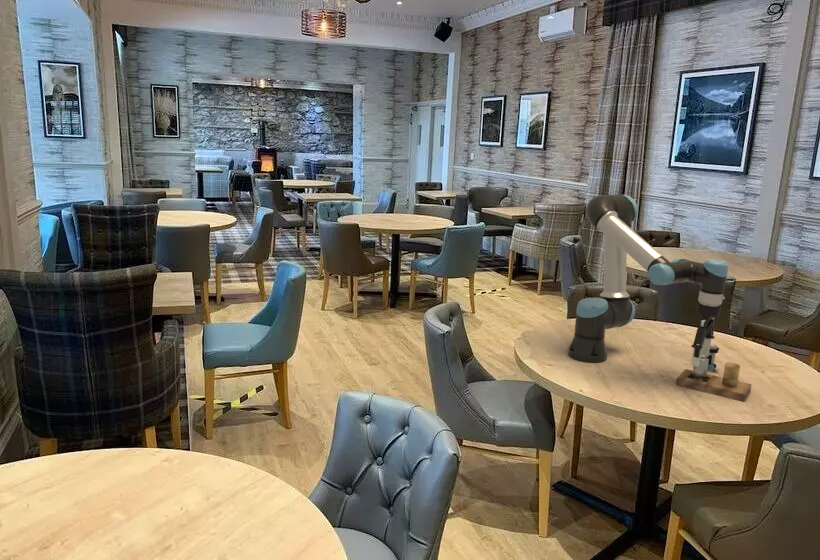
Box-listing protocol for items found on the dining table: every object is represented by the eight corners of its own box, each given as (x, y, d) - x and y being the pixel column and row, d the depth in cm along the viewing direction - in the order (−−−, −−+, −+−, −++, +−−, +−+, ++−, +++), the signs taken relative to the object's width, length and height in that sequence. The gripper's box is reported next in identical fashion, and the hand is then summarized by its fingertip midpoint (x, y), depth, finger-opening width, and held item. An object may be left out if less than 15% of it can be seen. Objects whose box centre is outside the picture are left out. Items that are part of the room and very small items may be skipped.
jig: (676, 384, 216) (679, 358, 214) (684, 375, 226) (688, 350, 223) (744, 401, 203) (748, 373, 201) (750, 391, 212) (754, 364, 210)
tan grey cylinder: (689, 384, 217) (693, 358, 215) (692, 380, 221) (696, 355, 218) (703, 387, 214) (707, 361, 212) (706, 384, 218) (710, 358, 216)
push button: (722, 372, 230) (725, 347, 228) (712, 373, 228) (716, 348, 226) (707, 366, 236) (710, 342, 234) (697, 367, 234) (701, 343, 232)
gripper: (713, 313, 199) (702, 372, 204) (728, 299, 218) (718, 354, 223) (689, 308, 203) (679, 366, 208) (706, 295, 223) (697, 348, 228)
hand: (699, 360), depth 216 cm, fingers open, 13 cm apart
